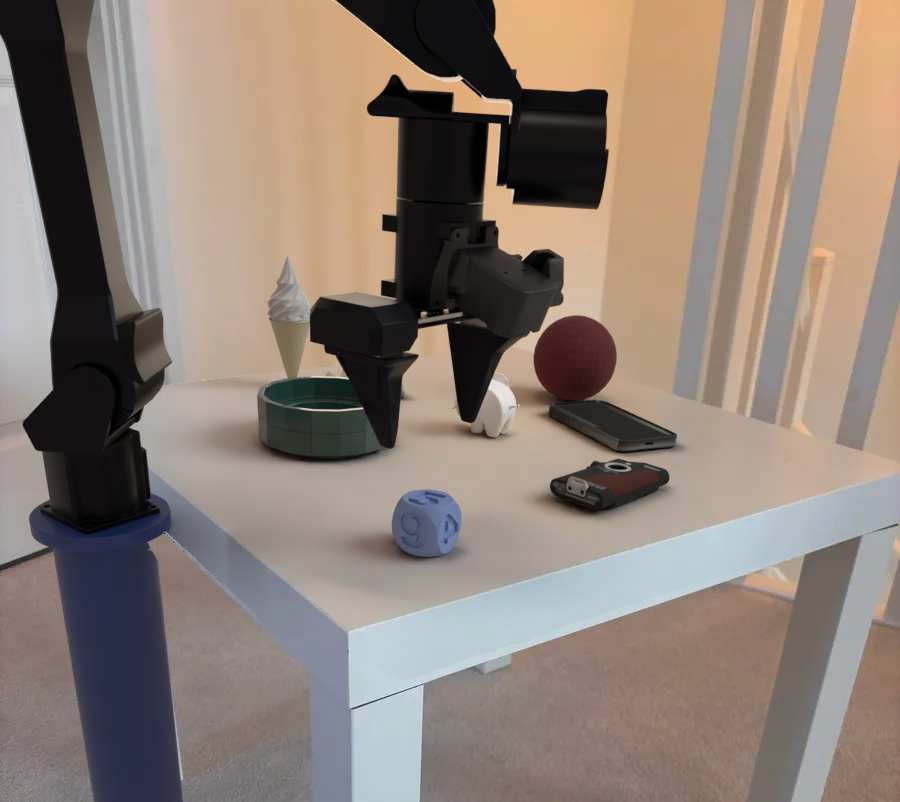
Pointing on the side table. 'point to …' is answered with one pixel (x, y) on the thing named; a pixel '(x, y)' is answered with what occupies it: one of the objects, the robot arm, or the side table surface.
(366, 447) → the bowl
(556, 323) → the decorative ball
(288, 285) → the ice cream cone
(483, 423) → the elephant figurine
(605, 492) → the camera
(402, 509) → the decorative dice
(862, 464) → the side table surface
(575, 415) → the phone
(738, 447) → the side table surface
